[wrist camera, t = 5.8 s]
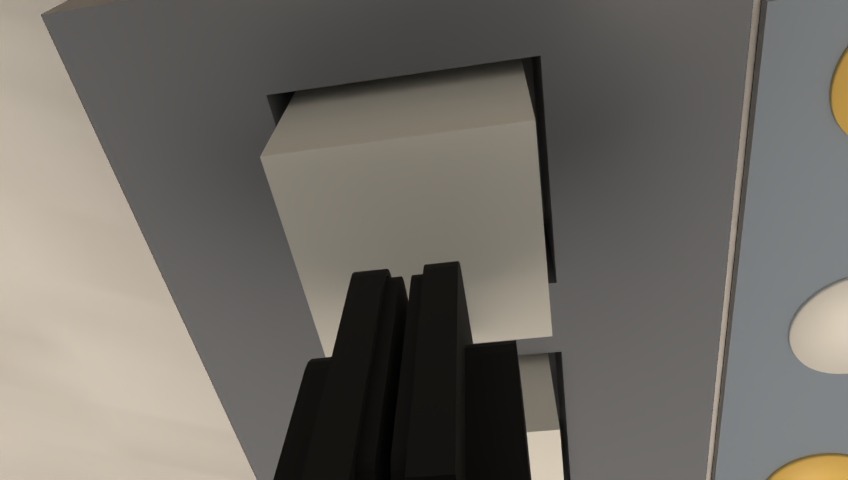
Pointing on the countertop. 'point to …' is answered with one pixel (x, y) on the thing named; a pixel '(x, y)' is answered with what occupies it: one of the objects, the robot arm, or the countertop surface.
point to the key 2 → (417, 192)
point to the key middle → (541, 418)
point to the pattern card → (791, 258)
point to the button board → (559, 177)
